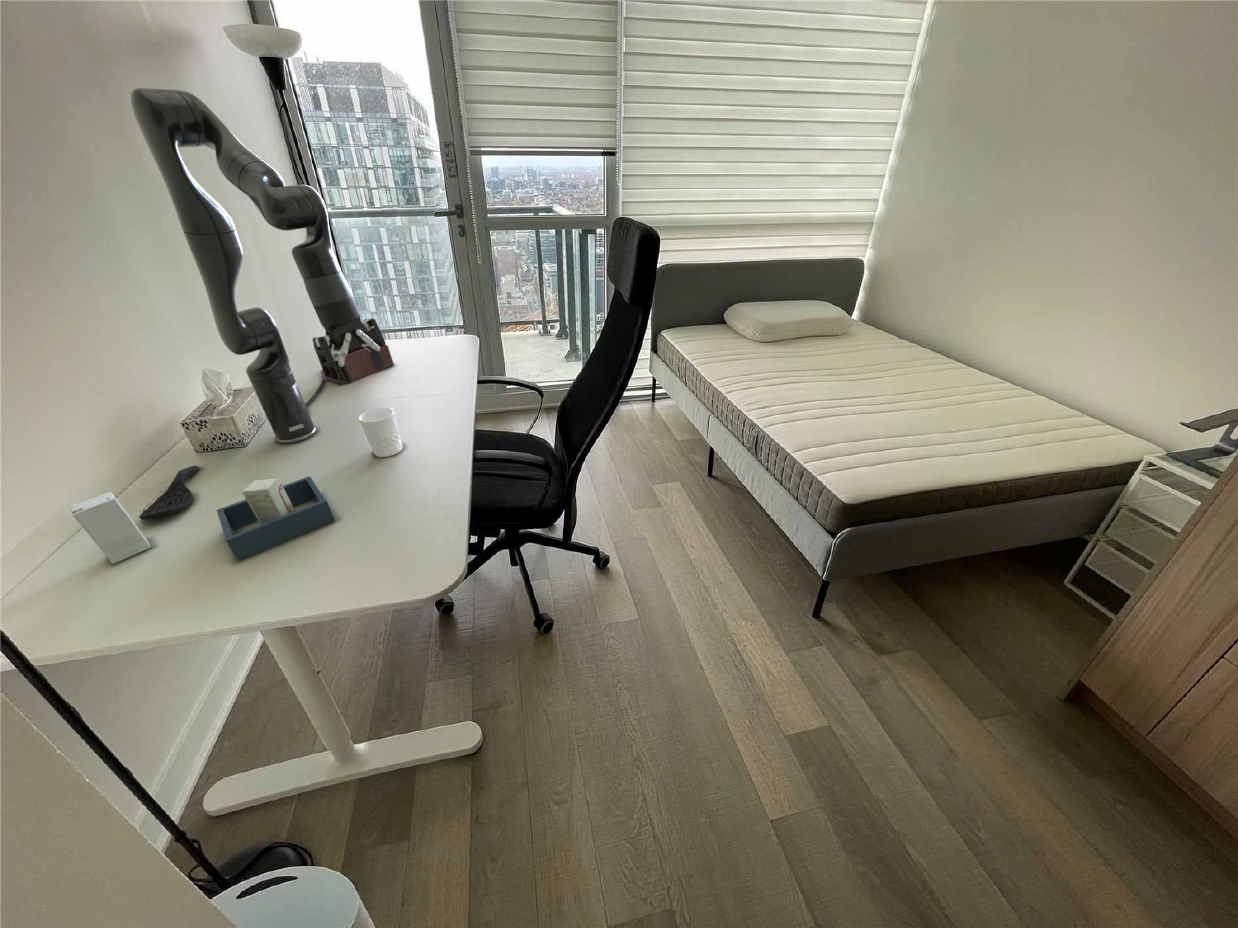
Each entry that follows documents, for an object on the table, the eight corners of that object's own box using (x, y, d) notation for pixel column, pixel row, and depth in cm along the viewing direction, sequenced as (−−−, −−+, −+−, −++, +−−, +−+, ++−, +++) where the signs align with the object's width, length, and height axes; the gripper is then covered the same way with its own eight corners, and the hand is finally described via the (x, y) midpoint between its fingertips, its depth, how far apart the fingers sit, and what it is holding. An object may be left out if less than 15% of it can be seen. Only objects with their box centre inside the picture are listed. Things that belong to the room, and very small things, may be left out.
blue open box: (227, 529, 103) (216, 509, 100) (318, 494, 112) (309, 475, 109) (238, 561, 94) (226, 540, 92) (335, 521, 103) (326, 501, 101)
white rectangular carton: (300, 517, 105) (280, 476, 100) (289, 531, 101) (268, 489, 96) (274, 519, 105) (253, 478, 100) (262, 533, 101) (240, 491, 96)
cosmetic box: (146, 539, 101) (111, 489, 95) (152, 548, 99) (116, 497, 93) (107, 556, 98) (67, 505, 91) (111, 566, 95) (71, 514, 89)
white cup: (393, 459, 123) (381, 422, 118) (365, 457, 125) (351, 421, 120) (411, 443, 130) (400, 407, 125) (383, 441, 132) (371, 406, 126)
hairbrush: (209, 454, 125) (173, 505, 104) (216, 467, 126) (182, 519, 106) (169, 462, 122) (124, 516, 102) (176, 476, 124) (134, 531, 103)
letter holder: (325, 379, 172) (310, 338, 165) (378, 361, 185) (366, 322, 178) (341, 385, 167) (326, 343, 159) (394, 365, 180) (383, 326, 173)
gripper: (349, 291, 109) (378, 364, 117) (288, 309, 98) (325, 388, 106) (373, 288, 106) (401, 364, 113) (312, 307, 95) (348, 388, 102)
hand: (364, 375), depth 109 cm, fingers open, 8 cm apart
